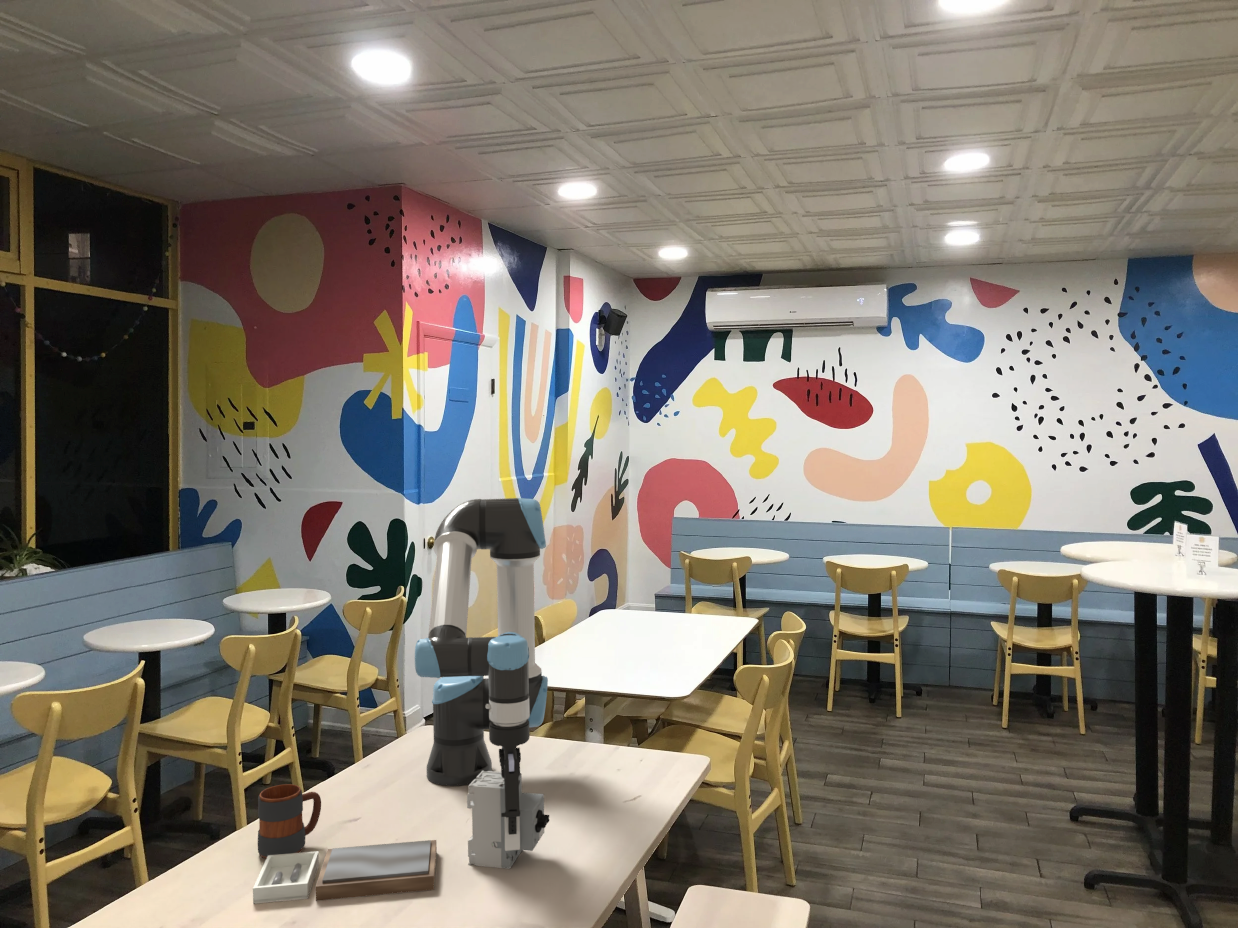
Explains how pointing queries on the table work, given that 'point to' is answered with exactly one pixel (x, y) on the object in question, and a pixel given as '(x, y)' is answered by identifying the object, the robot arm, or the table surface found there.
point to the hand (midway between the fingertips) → (510, 834)
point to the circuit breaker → (501, 821)
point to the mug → (284, 819)
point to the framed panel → (377, 870)
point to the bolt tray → (286, 877)
